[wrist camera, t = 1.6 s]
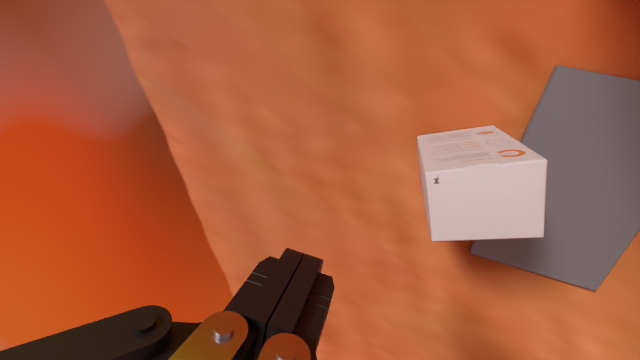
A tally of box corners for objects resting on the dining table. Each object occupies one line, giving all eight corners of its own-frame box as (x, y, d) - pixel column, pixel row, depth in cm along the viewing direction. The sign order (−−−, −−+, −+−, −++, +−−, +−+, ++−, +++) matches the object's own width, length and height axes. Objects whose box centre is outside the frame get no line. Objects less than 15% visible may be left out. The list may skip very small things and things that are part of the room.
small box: (421, 186, 36) (429, 243, 24) (416, 135, 34) (422, 169, 22) (496, 179, 34) (546, 239, 22) (495, 124, 32) (549, 156, 20)
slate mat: (555, 65, 29) (558, 65, 28) (726, 97, 26) (733, 98, 26) (469, 250, 37) (470, 253, 37) (592, 287, 35) (595, 290, 34)
